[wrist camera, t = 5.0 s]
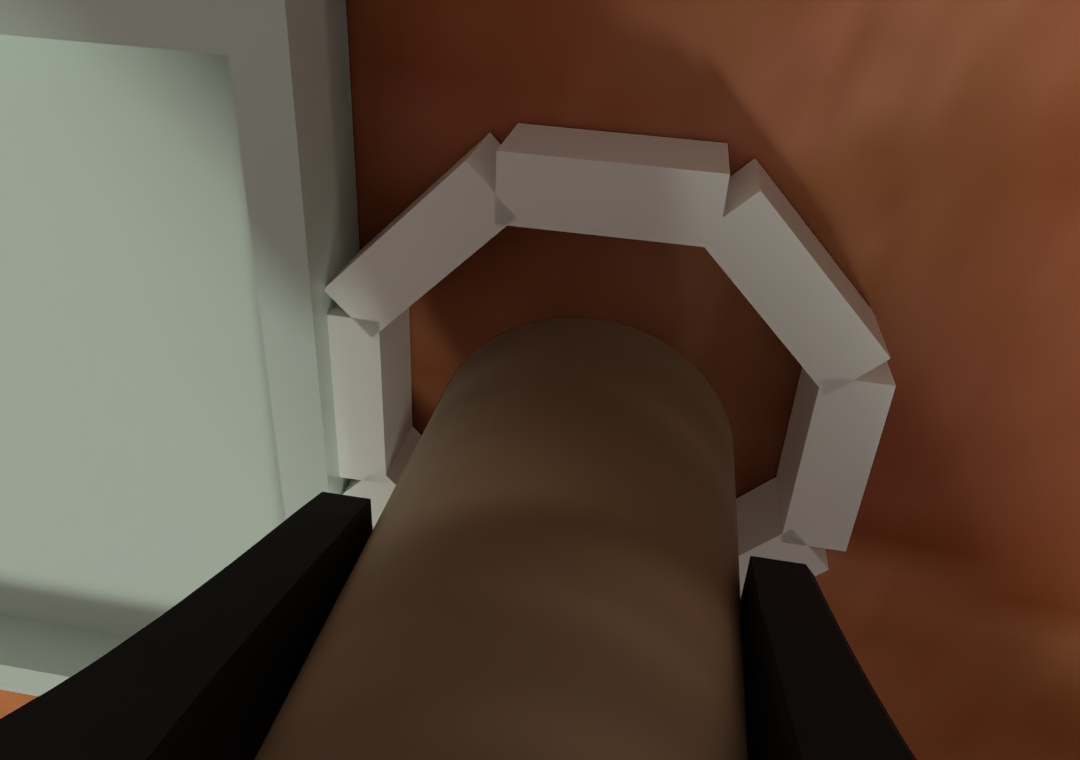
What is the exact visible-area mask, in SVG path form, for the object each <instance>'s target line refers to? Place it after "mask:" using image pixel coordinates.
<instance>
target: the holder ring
mask: <svg viewBox="0 0 1080 760" xmlns="http://www.w3.org/2000/svg"><path fill="white" fill-rule="evenodd" d="M506 226H516V227H525V228H534V229H543V230H552V231H562V232H571V233H580V234H589V235H598V236H607V237H616V238H625V239H635V240H644V241H653V242H662V243H671V244H680V245H689V246H698V247H705V249H706V250H707V251H708V252H709V254H710V255H711V256H712V257H713V258H714V260H715V261H716V262H717V263H718V265H719V266H720V267H721V268H722V269H723V271H724V272H725V273H726V274H727V276H728V277H729V278H730V279H731V280H732V282H733V283H734V284H735V285H736V287H737V288H738V289H739V290H740V291H741V293H742V294H743V295H744V296H745V298H746V299H747V300H748V301H749V302H750V304H751V305H752V306H753V307H754V308H755V310H756V311H757V312H758V313H759V315H760V316H761V317H762V318H763V319H764V321H765V322H766V323H767V324H768V326H769V327H770V328H771V329H772V330H773V332H774V333H775V334H776V335H777V337H778V338H779V339H780V340H781V341H782V343H783V344H784V345H785V346H786V348H787V349H788V350H789V351H790V352H791V354H792V355H793V356H794V357H795V359H796V360H797V361H798V362H799V363H800V365H801V366H802V369H801V373H800V378H799V382H798V386H797V390H796V395H795V399H794V403H793V407H792V412H791V416H790V420H789V424H788V429H787V433H786V437H785V441H784V446H783V450H782V454H781V458H780V463H779V467H778V471H777V475H776V477H775V478H773V479H771V480H769V481H768V482H766V483H764V484H762V485H760V486H758V487H757V488H755V489H753V490H751V491H749V492H748V493H746V494H744V495H742V496H740V497H739V498H737V499H736V510H737V533H738V555H739V577H740V599H741V595H742V590H743V586H744V582H745V577H746V573H747V569H748V564H749V560H750V556H755V557H762V558H768V559H775V560H782V561H788V562H795V563H802V564H806V565H807V566H808V568H809V569H810V570H811V572H812V573H813V574H814V576H817V575H819V574H821V573H823V572H825V571H827V570H829V567H828V561H827V556H826V550H825V549H831V550H838V551H845V552H846V550H847V547H848V543H849V540H850V537H851V533H852V530H853V527H854V523H855V520H856V517H857V514H858V510H859V507H860V504H861V500H862V497H863V494H864V490H865V487H866V484H867V480H868V477H869V474H870V471H871V467H872V464H873V461H874V457H875V454H876V451H877V447H878V444H879V441H880V437H881V434H882V431H883V428H884V424H885V421H886V418H887V414H888V411H889V408H890V404H891V401H892V398H893V394H894V391H895V388H896V384H895V382H894V379H893V376H892V374H891V371H890V368H889V366H888V363H887V360H889V359H891V357H890V355H889V352H888V349H887V347H886V344H885V342H884V339H883V336H882V334H881V331H880V328H879V326H878V323H877V321H876V318H875V315H874V313H873V311H872V310H871V308H870V307H869V306H868V304H867V303H866V302H865V300H864V299H863V298H862V297H861V295H860V294H859V293H858V291H857V290H856V289H855V287H854V286H853V285H852V283H851V282H850V281H849V280H848V278H847V277H846V276H845V274H844V273H843V272H842V270H841V269H840V268H839V267H838V265H837V264H836V263H835V261H834V260H833V259H832V257H831V256H830V255H829V254H828V252H827V251H826V250H825V248H824V247H823V246H822V244H821V243H820V242H819V241H818V239H817V238H816V237H815V235H814V234H813V233H812V231H811V230H810V229H809V228H808V226H807V225H806V224H805V222H804V221H803V220H802V218H801V217H800V216H799V214H798V213H797V212H796V211H795V209H794V208H793V207H792V205H791V204H790V203H789V201H788V200H787V199H786V198H785V196H784V195H783V194H782V192H781V191H780V190H779V188H778V187H777V186H776V185H775V183H774V182H773V181H772V179H771V178H770V177H769V175H768V174H767V173H766V172H765V170H764V169H763V168H762V166H761V165H760V164H759V162H758V161H757V160H756V159H755V158H754V159H753V160H752V161H750V162H749V163H748V164H746V165H745V166H744V167H742V168H741V169H740V170H738V171H737V172H736V173H734V174H733V175H732V176H730V167H729V154H728V143H721V142H711V141H700V140H690V139H679V138H669V137H658V136H648V135H637V134H627V133H617V132H606V131H596V130H585V129H575V128H564V127H554V126H543V125H533V124H522V123H518V124H517V125H516V126H515V128H514V129H513V130H512V131H511V133H510V134H509V135H508V137H507V138H506V139H505V140H504V142H503V143H502V144H500V143H499V142H498V141H497V140H496V138H495V137H494V136H493V135H492V134H491V133H489V134H488V135H486V136H485V137H484V138H483V139H482V140H481V141H480V142H479V143H478V144H477V145H475V146H474V147H473V148H472V149H471V150H470V151H469V152H468V153H467V154H466V155H464V156H463V157H462V158H461V159H460V160H459V161H458V162H457V163H456V164H455V165H453V166H452V167H451V168H450V169H449V170H448V171H447V172H446V173H445V174H443V175H442V176H441V177H440V178H439V179H438V180H437V181H436V182H435V183H434V184H432V185H431V186H430V187H429V188H428V189H427V190H426V191H425V192H424V193H423V194H421V195H420V196H419V197H418V198H417V199H416V200H415V201H414V202H413V203H412V204H410V205H409V206H408V207H407V208H406V209H405V210H404V211H403V212H402V213H401V214H399V215H398V216H397V217H396V218H395V219H394V220H393V221H392V222H391V223H390V224H388V225H387V226H386V227H385V228H384V229H383V230H382V231H381V232H380V233H379V234H377V235H376V236H375V237H374V238H373V239H372V240H371V241H370V242H369V243H368V244H366V245H365V246H364V247H363V248H362V249H361V250H360V251H359V252H358V253H357V254H356V255H355V256H354V257H353V258H352V259H351V260H350V262H349V263H348V264H347V265H346V266H345V267H344V268H343V269H342V270H341V271H340V272H339V273H338V274H337V275H336V276H335V278H334V279H333V280H332V281H331V282H330V283H329V284H328V285H327V286H326V287H325V292H326V293H327V294H328V295H329V296H330V297H331V298H332V299H333V300H334V301H335V302H336V303H337V304H336V305H335V306H334V307H333V309H332V310H331V311H330V312H329V313H328V314H327V321H328V334H329V346H330V359H331V371H332V384H333V397H334V409H335V422H336V434H337V447H338V460H339V472H340V477H343V478H349V479H351V480H350V481H349V483H348V485H347V487H346V488H345V490H344V492H343V493H342V495H348V496H355V497H361V498H368V499H371V513H372V526H373V527H375V525H376V523H377V521H378V519H379V517H380V515H381V513H382V511H383V509H384V507H385V506H386V504H387V502H388V500H389V498H390V496H391V494H392V492H393V490H394V488H395V486H396V484H397V482H398V480H399V478H400V476H401V475H402V473H403V471H404V469H405V467H406V465H407V463H408V461H409V459H410V457H411V455H412V453H413V451H414V449H415V447H416V445H417V444H418V442H419V440H420V438H421V436H422V435H421V434H420V433H419V432H418V431H417V430H416V429H415V428H414V427H413V426H412V390H411V352H410V313H409V307H410V306H411V305H412V304H413V303H415V302H416V301H417V300H418V299H419V298H421V297H422V296H423V295H424V294H425V293H427V292H428V291H429V290H430V289H431V288H433V287H434V286H435V285H436V284H437V283H439V282H440V281H441V280H442V279H443V278H445V277H446V276H447V275H448V274H449V273H451V272H452V271H453V270H454V269H455V268H457V267H458V266H459V265H460V264H461V263H463V262H464V261H465V260H466V259H467V258H469V257H470V256H471V255H472V254H473V253H475V252H476V251H477V250H478V249H479V248H481V247H482V246H483V245H484V244H485V243H487V242H488V241H489V240H490V239H491V238H493V237H494V236H495V235H496V234H498V233H499V232H500V231H501V230H502V229H504V228H505V227H506Z"/></svg>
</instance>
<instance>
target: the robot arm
mask: <svg viewBox="0 0 1080 760" xmlns="http://www.w3.org/2000/svg"><path fill="white" fill-rule="evenodd" d="M372 531H373V530H372V513H371V499H368V498H361V497H355V496H348V495H341V494H335V493H328V492H321V493H320V494H318V495H317V496H316V497H314V498H313V499H312V500H310V501H309V502H308V503H306V504H305V505H304V506H302V507H301V508H300V509H299V510H297V511H296V512H295V513H293V514H292V515H291V516H290V517H288V518H287V519H286V520H285V521H283V522H282V523H281V524H280V525H278V526H277V527H276V528H275V529H273V530H272V531H271V532H270V533H268V534H267V535H266V536H265V537H263V538H262V539H261V540H260V541H258V542H257V543H256V544H255V545H253V546H252V547H251V548H249V549H248V550H247V551H246V552H244V553H243V554H242V555H241V556H239V557H238V558H237V559H236V560H234V561H233V562H232V563H230V564H229V565H228V566H226V567H225V568H224V569H223V570H221V571H220V572H219V573H217V574H216V575H215V576H213V577H212V578H211V579H209V580H208V581H207V582H205V583H204V584H203V585H201V586H200V587H199V588H197V589H196V590H195V591H194V592H192V593H191V594H190V595H188V596H187V597H186V598H184V599H183V600H182V601H180V602H179V603H178V604H176V605H175V606H174V607H172V608H171V609H169V610H168V611H167V612H165V613H164V614H163V615H161V616H160V617H158V618H157V619H155V620H154V621H152V622H151V623H150V624H148V625H147V626H145V627H144V628H142V629H141V630H140V631H138V632H137V633H135V634H134V635H132V636H131V637H129V638H128V639H127V640H125V641H124V642H122V643H121V644H119V645H118V646H117V647H115V648H114V649H112V650H111V651H109V652H108V653H106V654H105V655H104V656H102V657H101V658H99V659H98V660H96V661H95V662H93V663H92V664H90V665H88V666H87V667H85V668H84V669H82V670H81V671H79V672H78V673H76V674H75V675H73V676H71V677H70V678H68V679H67V680H65V681H63V682H62V683H60V684H59V685H57V686H55V687H54V688H52V689H50V690H49V691H47V692H45V693H44V694H42V695H40V696H39V697H37V698H35V699H34V700H32V701H30V702H28V703H27V704H25V705H23V706H22V707H20V708H18V709H17V710H15V711H13V712H12V713H10V714H8V715H6V716H5V717H3V718H1V719H0V760H254V759H255V757H256V756H257V754H258V752H259V750H260V748H261V746H262V744H263V742H264V740H265V738H266V736H267V734H268V732H269V730H270V728H271V726H272V725H273V723H274V721H275V719H276V717H277V715H278V713H279V711H280V709H281V707H282V705H283V703H284V701H285V699H286V697H287V695H288V694H289V692H290V690H291V688H292V686H293V684H294V682H295V680H296V678H297V676H298V674H299V672H300V670H301V668H302V666H303V664H304V663H305V661H306V659H307V657H308V655H309V653H310V651H311V649H312V647H313V645H314V643H315V641H316V639H317V637H318V635H319V633H320V632H321V630H322V628H323V626H324V624H325V622H326V620H327V618H328V616H329V614H330V612H331V610H332V608H333V606H334V604H335V602H336V601H337V599H338V597H339V595H340V593H341V591H342V589H343V587H344V585H345V583H346V581H347V579H348V577H349V575H350V573H351V571H352V570H353V568H354V566H355V564H356V562H357V560H358V558H359V556H360V554H361V552H362V550H363V548H364V546H365V544H366V542H367V540H368V539H369V537H370V535H371V533H372ZM741 621H742V643H743V666H744V688H745V710H746V732H747V754H748V760H916V758H915V757H914V755H913V754H912V752H911V750H910V749H909V747H908V746H907V744H906V743H905V741H904V739H903V738H902V736H901V734H900V733H899V731H898V729H897V728H896V726H895V724H894V723H893V721H892V719H891V718H890V716H889V714H888V713H887V711H886V709H885V708H884V706H883V704H882V703H881V701H880V699H879V698H878V696H877V694H876V693H875V691H874V689H873V687H872V686H871V684H870V682H869V680H868V679H867V677H866V675H865V673H864V672H863V670H862V668H861V666H860V664H859V663H858V661H857V659H856V657H855V655H854V653H853V652H852V650H851V648H850V646H849V644H848V642H847V640H846V639H845V637H844V635H843V633H842V631H841V629H840V627H839V625H838V623H837V621H836V619H835V617H834V616H833V614H832V612H831V610H830V608H829V606H828V604H827V602H826V599H825V597H824V595H823V593H822V591H821V589H820V587H819V585H818V583H817V581H816V579H815V576H814V574H813V573H812V572H811V570H810V569H809V568H808V566H807V565H806V564H802V563H795V562H788V561H782V560H775V559H768V558H762V557H755V556H750V560H749V564H748V569H747V573H746V577H745V582H744V586H743V590H742V595H741Z"/></svg>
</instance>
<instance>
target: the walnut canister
mask: <svg viewBox="0 0 1080 760" xmlns="http://www.w3.org/2000/svg"><path fill="white" fill-rule="evenodd" d="M254 760H748V754H747V732H746V710H745V688H744V666H743V643H742V621H741V599H740V577H739V555H738V533H737V510H736V488H735V466H734V444H733V436H732V431H731V426H730V422H729V419H728V416H727V414H726V411H725V408H724V406H723V404H722V402H721V400H720V399H719V397H718V395H717V393H716V391H715V390H714V388H713V387H712V386H711V384H710V383H709V382H708V380H707V379H706V378H705V376H704V375H703V374H702V373H701V372H700V371H699V370H698V369H697V368H696V367H695V366H694V365H693V364H692V363H691V362H690V361H689V360H688V359H687V358H686V357H684V356H683V355H682V354H680V353H679V352H678V351H677V350H675V349H674V348H673V347H671V346H669V345H668V344H666V343H664V342H663V341H661V340H659V339H658V338H656V337H654V336H652V335H649V334H647V333H645V332H643V331H640V330H638V329H636V328H633V327H629V326H626V325H623V324H620V323H616V322H612V321H606V320H601V319H595V318H581V317H564V318H550V319H545V320H540V321H534V322H530V323H527V324H524V325H521V326H517V327H514V328H512V329H510V330H508V331H505V332H503V333H501V334H499V335H497V336H495V337H494V338H492V339H491V340H489V341H488V342H486V343H484V344H483V345H481V346H480V347H479V348H478V349H477V350H475V351H474V352H473V353H472V354H471V355H470V356H469V357H468V358H467V359H466V360H465V361H464V362H463V363H462V365H461V366H460V367H459V368H458V369H457V371H456V372H455V374H454V375H453V377H452V379H451V380H450V382H449V384H448V385H447V387H446V389H445V391H444V393H443V395H442V397H441V399H440V401H439V403H438V405H437V407H436V409H435V411H434V413H433V414H432V416H431V418H430V420H429V422H428V424H427V426H426V428H425V430H424V432H423V434H422V436H421V438H420V440H419V442H418V444H417V445H416V447H415V449H414V451H413V453H412V455H411V457H410V459H409V461H408V463H407V465H406V467H405V469H404V471H403V473H402V475H401V476H400V478H399V480H398V482H397V484H396V486H395V488H394V490H393V492H392V494H391V496H390V498H389V500H388V502H387V504H386V506H385V507H384V509H383V511H382V513H381V515H380V517H379V519H378V521H377V523H376V525H375V527H374V529H373V531H372V533H371V535H370V537H369V539H368V540H367V542H366V544H365V546H364V548H363V550H362V552H361V554H360V556H359V558H358V560H357V562H356V564H355V566H354V568H353V570H352V571H351V573H350V575H349V577H348V579H347V581H346V583H345V585H344V587H343V589H342V591H341V593H340V595H339V597H338V599H337V601H336V602H335V604H334V606H333V608H332V610H331V612H330V614H329V616H328V618H327V620H326V622H325V624H324V626H323V628H322V630H321V632H320V633H319V635H318V637H317V639H316V641H315V643H314V645H313V647H312V649H311V651H310V653H309V655H308V657H307V659H306V661H305V663H304V664H303V666H302V668H301V670H300V672H299V674H298V676H297V678H296V680H295V682H294V684H293V686H292V688H291V690H290V692H289V694H288V695H287V697H286V699H285V701H284V703H283V705H282V707H281V709H280V711H279V713H278V715H277V717H276V719H275V721H274V723H273V725H272V726H271V728H270V730H269V732H268V734H267V736H266V738H265V740H264V742H263V744H262V746H261V748H260V750H259V752H258V754H257V756H256V757H255V759H254Z"/></svg>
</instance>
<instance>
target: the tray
mask: <svg viewBox="0 0 1080 760" xmlns="http://www.w3.org/2000/svg"><path fill="white" fill-rule="evenodd" d="M359 251H360V243H359V225H358V207H357V189H356V171H355V153H354V135H353V117H352V100H351V82H350V64H349V46H348V28H347V10H346V0H0V689H1V690H7V691H12V692H18V693H23V694H28V695H34V696H40V695H42V694H44V693H45V692H47V691H49V690H50V689H52V688H54V687H55V686H57V685H59V684H60V683H62V682H63V681H65V680H67V679H68V678H70V677H71V676H73V675H75V674H76V673H78V672H79V671H81V670H82V669H84V668H85V667H87V666H88V665H90V664H92V663H93V662H95V661H96V660H98V659H99V658H101V657H102V656H104V655H105V654H106V653H108V652H109V651H111V650H112V649H114V648H115V647H117V646H118V645H119V644H121V643H122V642H124V641H125V640H127V639H128V638H129V637H131V636H132V635H134V634H135V633H137V632H138V631H140V630H141V629H142V628H144V627H145V626H147V625H148V624H150V623H151V622H152V621H154V620H155V619H157V618H158V617H160V616H161V615H163V614H164V613H165V612H167V611H168V610H169V609H171V608H172V607H174V606H175V605H176V604H178V603H179V602H180V601H182V600H183V599H184V598H186V597H187V596H188V595H190V594H191V593H192V592H194V591H195V590H196V589H197V588H199V587H200V586H201V585H203V584H204V583H205V582H207V581H208V580H209V579H211V578H212V577H213V576H215V575H216V574H217V573H219V572H220V571H221V570H223V569H224V568H225V567H226V566H228V565H229V564H230V563H232V562H233V561H234V560H236V559H237V558H238V557H239V556H241V555H242V554H243V553H244V552H246V551H247V550H248V549H249V548H251V547H252V546H253V545H255V544H256V543H257V542H258V541H260V540H261V539H262V538H263V537H265V536H266V535H267V534H268V533H270V532H271V531H272V530H273V529H275V528H276V527H277V526H278V525H280V524H281V523H282V522H283V521H285V520H286V519H287V518H288V517H290V516H291V515H292V514H293V513H295V512H296V511H297V510H299V509H300V508H301V507H302V506H304V505H305V504H306V503H308V502H309V501H310V500H312V499H313V498H314V497H316V496H317V495H318V494H320V493H321V492H328V493H335V494H341V495H342V493H343V492H344V490H345V488H346V487H347V485H348V483H349V481H350V480H351V479H349V478H343V477H340V472H339V460H338V447H337V434H336V422H335V409H334V397H333V384H332V371H331V359H330V346H329V334H328V321H327V314H328V313H329V312H330V311H331V310H332V309H333V307H334V306H335V305H336V304H337V303H336V302H335V301H334V300H333V299H332V298H331V297H330V296H329V295H328V294H327V293H326V292H325V287H326V286H327V285H328V284H329V283H330V282H331V281H332V280H333V279H334V278H335V276H336V275H337V274H338V273H339V272H340V271H341V270H342V269H343V268H344V267H345V266H346V265H347V264H348V263H349V262H350V260H351V259H352V258H353V257H354V256H355V255H356V254H357V253H358V252H359ZM373 529H374V527H373V526H372V530H373Z"/></svg>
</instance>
